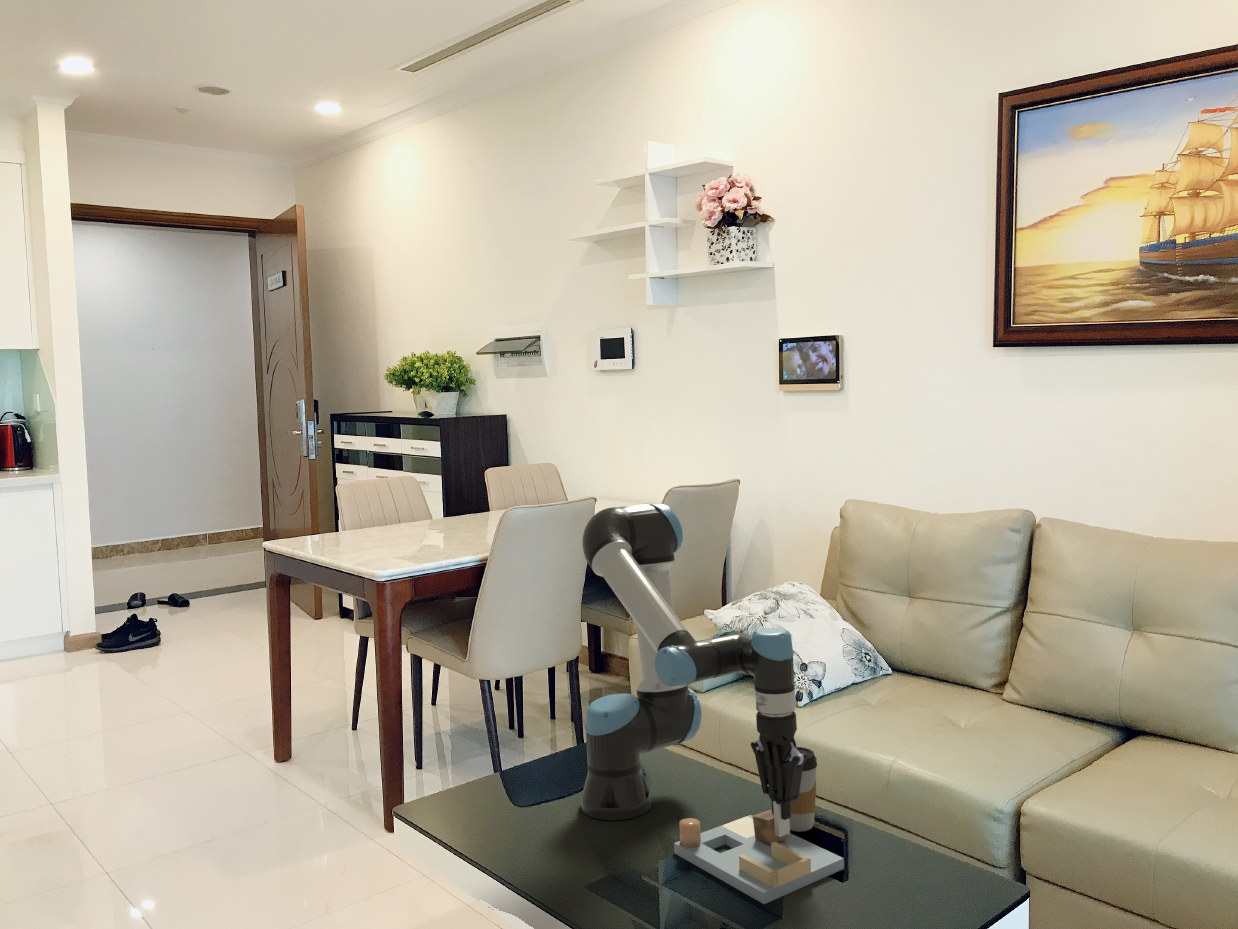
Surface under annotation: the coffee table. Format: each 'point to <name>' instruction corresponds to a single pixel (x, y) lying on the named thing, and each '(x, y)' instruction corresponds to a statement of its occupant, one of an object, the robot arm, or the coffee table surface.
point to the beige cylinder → (690, 832)
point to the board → (760, 860)
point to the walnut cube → (766, 828)
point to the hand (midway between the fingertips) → (782, 834)
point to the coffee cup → (805, 795)
